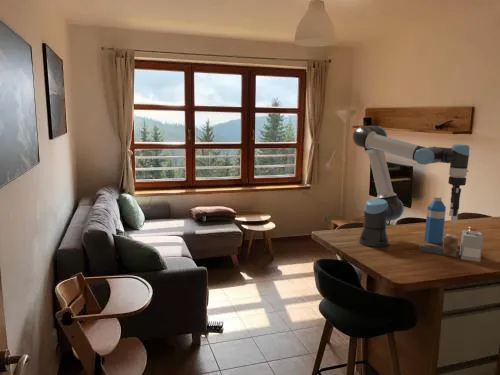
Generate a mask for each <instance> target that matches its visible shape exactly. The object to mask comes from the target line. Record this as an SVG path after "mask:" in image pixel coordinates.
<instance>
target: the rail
mask: <svg viewBox="0 0 500 375" xmlns="http://www.w3.org/2000/svg"><path fill="white" fill-rule="evenodd" d="M418 246H419V248H418V249H419V250H418V253H427V254H428V253H430V254H436V255H441V256H444V255H443V246H436V245H430V244H429V245H428V244H422V243H420V244H419V245H418ZM455 258H460V248H457V253H456V257H455Z"/></svg>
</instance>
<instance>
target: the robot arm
mask: <svg viewBox="0 0 500 375" xmlns="http://www.w3.org/2000/svg"><path fill="white" fill-rule="evenodd" d="M352 141H353V143H354V144H355V146H357V147H359V148H363V149H364V152H365V153H366V154H367V155H368V158H369V162H370V167H371V171H372V176H373V181H374V186H375V189H376V190H375V191H376V193H377V196H376V197H375V198H371V199H368V200H366V201H365V203H364V210H363V211H364V212H363V228H362V231H361V233H360V235H359V239H358V242H359V243H360V244H362V245H364V246H368V247H373V248H377V247H378V248H384V247H386V246H387V247H388V245H389V238H388V234H387V231H386V230H387V222H390V221H394V220H397V219H399V218H400V217H401V216H402V215H403V214H404V211H405V209H404V204H403V202H402V200H400V199H399V198H398V195H397V193H395V192H394V188H393V185H392V181H391V176H390V172H389V167H388V163H387V159H386V154H385V153H388V154H390V155H391V154H392V155H395V156H398V157H401V158H404V159H408V160H412V161H415V162H416V163H418V164H419V165H430V164H436V163H437V164H438V163H442V164H443V163H444V164H450V165H449V166H450V167H449V172H448V175H449V177H448V185H452V187H451V189H450V190H451V192H450V194H451V196H450V202H449V203H450V205H449V213H448V216H449V217H450V223H455V224H457V223H458V217H459V209H460V200H461V199H460V198H461V193H462V188H460V187H461V186H466V184H467V178H466V177H467V175H468V174H467V173H469V170H468V166H469V157H470V145H468V144H462V143H461V144H460V143H459V144H458V143H455V144H452V145H451V147H440V146H428V147H425V146H421V145H418V144H415V143H410V142H407V141H403V140H399V139H396V138H392V137H388V134H387V132H386V130H385V129H384V128H383V127H381V126H378V125H363V126H359V127H357V128H355V130H354V131H353V133H352Z"/></svg>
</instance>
